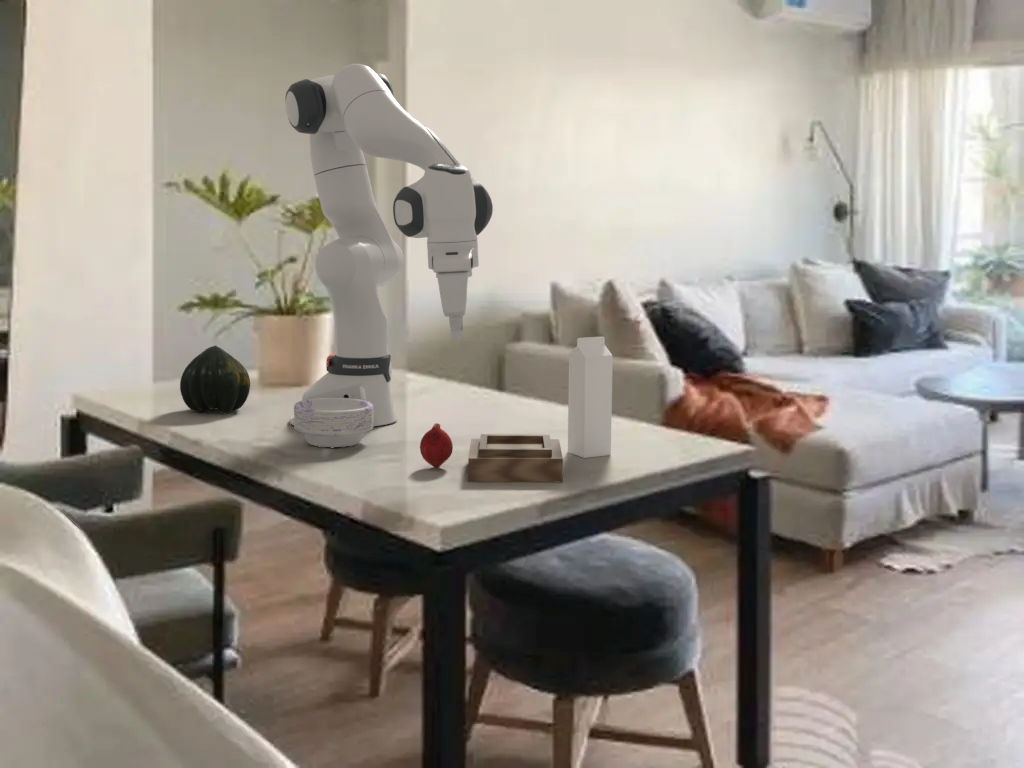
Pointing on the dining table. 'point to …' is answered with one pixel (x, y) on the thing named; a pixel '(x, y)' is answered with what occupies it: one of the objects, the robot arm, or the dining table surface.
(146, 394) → the dining table surface
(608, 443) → the milk
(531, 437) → the walnut pedestal
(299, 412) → the paper bowls
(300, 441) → the dining table surface
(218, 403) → the squash
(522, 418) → the dining table surface
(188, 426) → the dining table surface
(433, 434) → the onion
